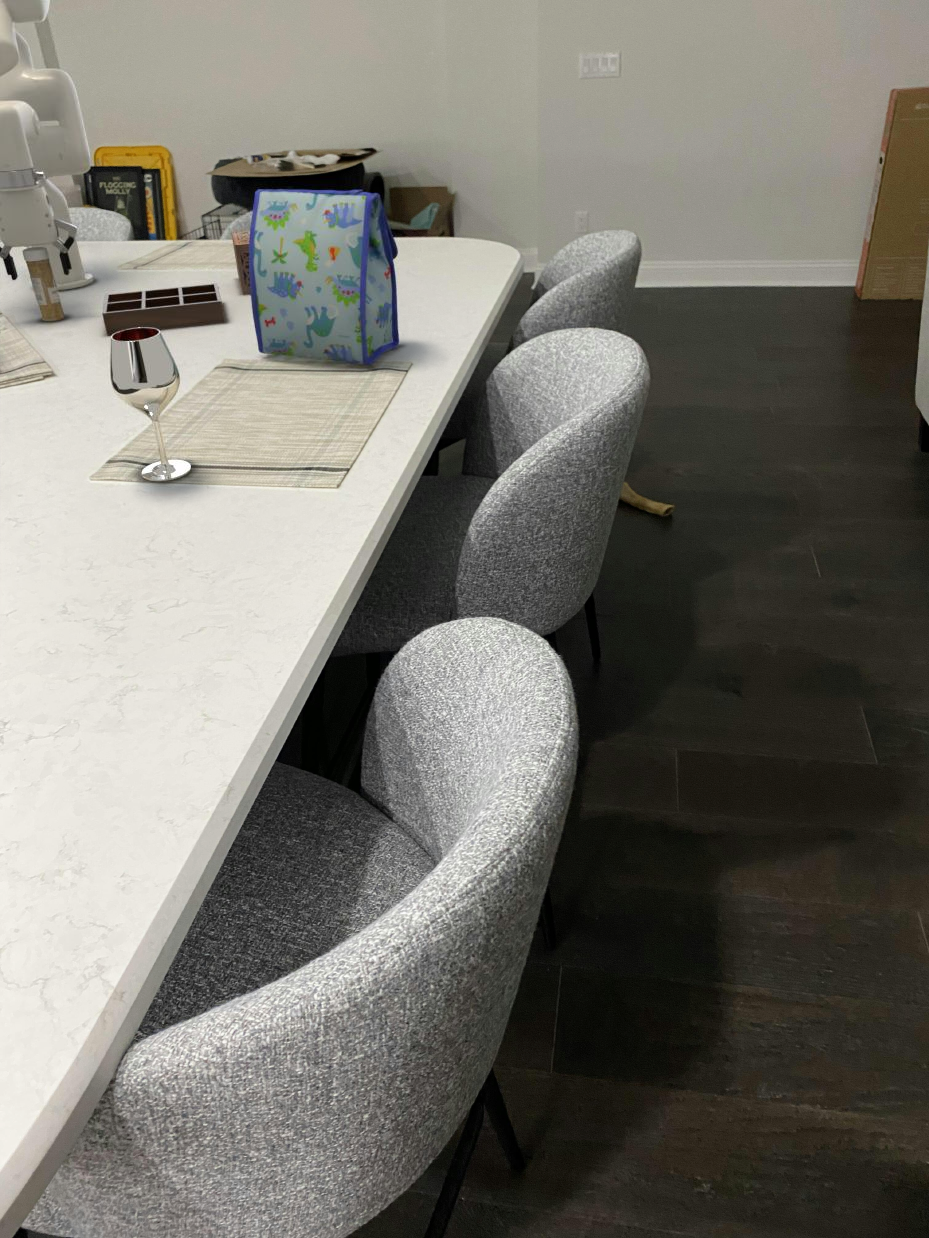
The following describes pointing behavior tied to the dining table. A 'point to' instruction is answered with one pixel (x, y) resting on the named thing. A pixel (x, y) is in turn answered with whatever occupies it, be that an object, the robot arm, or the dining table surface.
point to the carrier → (163, 308)
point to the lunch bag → (323, 275)
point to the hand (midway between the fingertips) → (41, 276)
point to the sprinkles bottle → (43, 283)
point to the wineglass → (147, 387)
